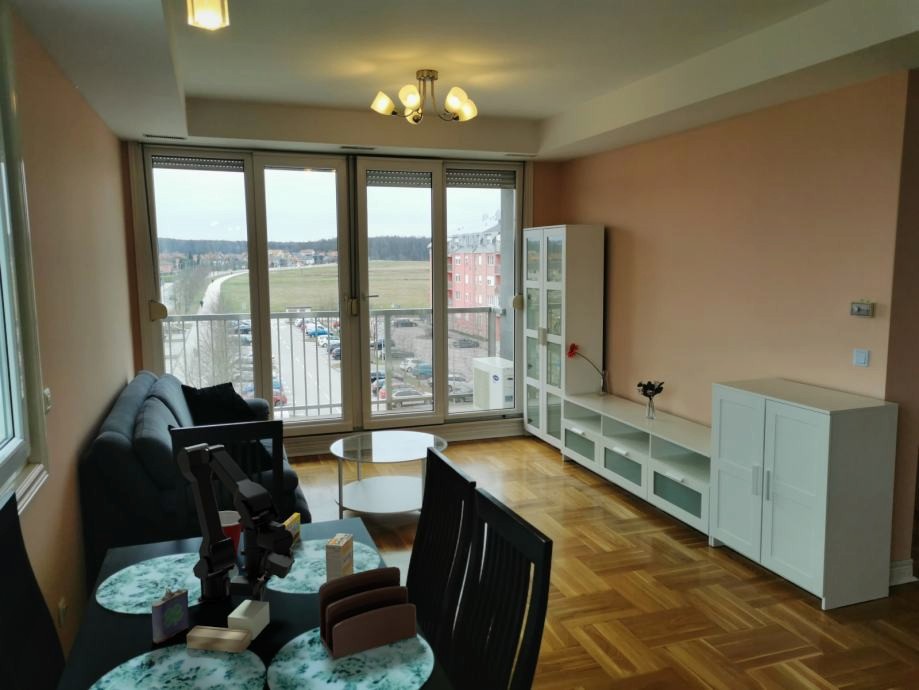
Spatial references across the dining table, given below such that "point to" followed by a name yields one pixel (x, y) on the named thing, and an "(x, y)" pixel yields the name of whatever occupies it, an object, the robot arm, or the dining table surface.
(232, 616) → the block
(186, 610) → the flask
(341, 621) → the letter holder
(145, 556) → the dining table surface
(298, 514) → the candy box
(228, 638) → the wooden bar
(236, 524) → the plastic cup
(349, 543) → the supplement box
